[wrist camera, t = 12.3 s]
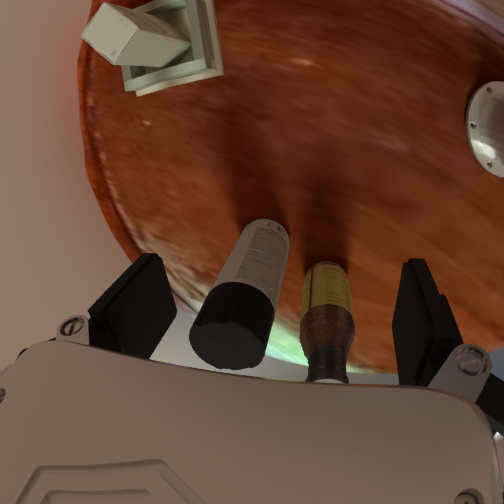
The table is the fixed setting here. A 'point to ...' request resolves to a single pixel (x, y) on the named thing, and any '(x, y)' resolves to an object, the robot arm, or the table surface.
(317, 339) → the sauce bottle
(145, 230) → the table surface
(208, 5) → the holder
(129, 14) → the skincare box
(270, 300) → the spray can
